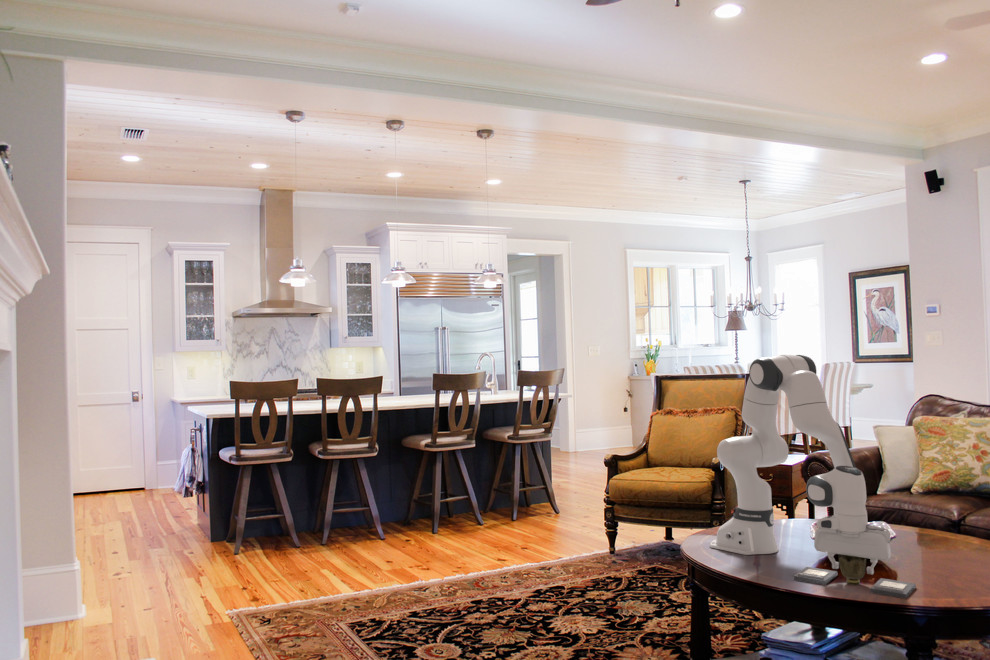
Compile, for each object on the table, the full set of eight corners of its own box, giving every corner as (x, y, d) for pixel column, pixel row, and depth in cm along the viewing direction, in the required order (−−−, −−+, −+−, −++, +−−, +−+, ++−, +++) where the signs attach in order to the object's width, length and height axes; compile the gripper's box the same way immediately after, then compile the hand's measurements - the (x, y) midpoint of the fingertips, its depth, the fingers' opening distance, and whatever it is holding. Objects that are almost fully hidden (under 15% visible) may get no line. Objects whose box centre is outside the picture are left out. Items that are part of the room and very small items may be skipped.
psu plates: (793, 579, 225) (793, 573, 225) (806, 570, 234) (806, 564, 234) (906, 598, 205) (905, 592, 205) (915, 587, 215) (915, 581, 215)
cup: (835, 584, 220) (834, 556, 220) (844, 578, 225) (843, 551, 225) (862, 589, 214) (860, 560, 215) (871, 583, 219) (870, 555, 220)
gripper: (892, 525, 216) (894, 574, 215) (818, 517, 229) (820, 563, 229) (887, 529, 211) (889, 579, 211) (811, 520, 224) (813, 567, 224)
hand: (852, 571), depth 220 cm, fingers open, 8 cm apart
